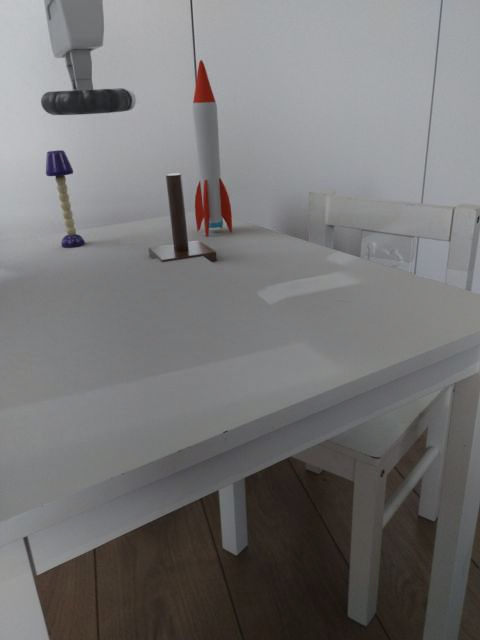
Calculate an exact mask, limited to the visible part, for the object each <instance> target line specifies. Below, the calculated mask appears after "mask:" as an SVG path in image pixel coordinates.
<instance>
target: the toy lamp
mask: <svg viewBox="0 0 480 640" xmlns="http://www.w3.org/2000/svg"><path fill="white" fill-rule="evenodd" d="M45 160H46V162H45V166H46V167H45V174H46V176H47V177H54V179H55V181H56V184H57V185H56V187H57V188H56V189H57V192H58V199H59V201H60V208H61V210H62V213H61V214H62V217H63V219H64V220H63V222H64V226H65V232H66V234H67V235H65V236H64V237H62V239H61V242H60V243H61V247H63V248H74V247H75V248H76V247H80V246H82V245H85V244H86V241H85V239H84V238H83V236H81V235H80V234H77V229H76V227H75V220H74V218H73V216H74V214H73V211H72V210H71V209H72V208H71V207H72V206H71V205H72V204H71V202H70V195H69V192H68V185H67V184H66V183H67V178H66V176H68V175H72V174H73V175H74V169H73V167H72V164H71V162H70V160H69V158H68V156H67V153H66V152H65V150H63V149H61V150H60V149H59V150H58V149H57V150H48V151H47V152H46V159H45Z"/></svg>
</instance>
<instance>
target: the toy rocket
mask: <svg viewBox="0 0 480 640" xmlns="http://www.w3.org/2000/svg"><path fill="white" fill-rule="evenodd" d="M198 62H199V63H198V67H197V73H196V82H195V88H194V94H193V101H192V117H193V126H194V135H195V144H196V154H197V155H196V156H197V163H198V172H199V181H198V185H197V187H196V192H195V196H194V213H195V216H194V217H195V222H196V231H197V232H199V231H200V230H201V228H202V223H203V221H204V223H203V224H204V232H205V233H204V234H205V237H208V236H209V234H210V233H209V232H210V229H217V228H220V229H223V226H224V222H225V224H226V226H227V229H228V232H230V233H233V217H232V216H233V215H232V206H231V202H230V196H229V194H228V191H227V188H226V186H225V184H224V182H223V180H222V178H221V175H222V174H221V161H220V160H221V159H220V158H221V157H220V139H219V138H220V136H219V119H218V105H217V101H216V99H215V95H214V92H213V90H212V86H211V83H210V80H209V75H208V73H207V70H206V66H205V64H204V61H203V60H202V59H200V60H199V61H198Z"/></svg>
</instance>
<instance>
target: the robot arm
mask: <svg viewBox="0 0 480 640" xmlns="http://www.w3.org/2000/svg"><path fill="white" fill-rule="evenodd" d="M43 2H44V8H45V16H46V22H47V30H48V35H49V41H50V46H51V50H52V51H51V52H52V53H53V57H54V58H56V59H64V62H65V66H66V70H67V73H68V76H69V77H68V78H69V79H70V83H71V88H72V89H71V91H73V90H76V91H79V90H94V85H93V60H92V55H91V54H92V53H91V52H93V51H95V50H98V49H99V48H101V47H103V46H104V44H105V33H106V32H105V27H106V26H105V12H104V0H44V1H43Z"/></svg>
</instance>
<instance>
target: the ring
mask: <svg viewBox="0 0 480 640" xmlns="http://www.w3.org/2000/svg"><path fill="white" fill-rule="evenodd" d="M40 104H41V107H42V109H43V110H44V112H46V113H47V114H50V115H51V116H79V115H81V116H82V115H95V114H98V115H99V114H110V113H123V112H128V111H131V110H133V109H134V108H135V106H136V104H137V97H136V95H135V93H134V92H133V90H131V89H129V88H126V87H122V88H121V87H120V88H97V89H93V90H79V91H76V90H56V91H46V92H44V94H42V95H41V99H40Z"/></svg>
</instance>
